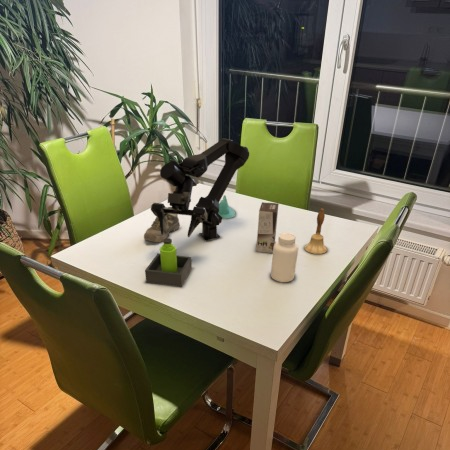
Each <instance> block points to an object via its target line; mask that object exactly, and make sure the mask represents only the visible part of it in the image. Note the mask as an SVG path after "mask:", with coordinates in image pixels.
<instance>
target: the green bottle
mask: <svg viewBox="0 0 450 450" xmlns="http://www.w3.org/2000/svg"><path fill="white" fill-rule="evenodd" d="M172 242H173V240H172V239H171V238H170V237H169V238H168V237H167V238H166V239H164V240H163V241H162V243H163V244H162V245H161V246H160V248H159V253H160V257H161V269H162V271H165V272H173V273H177V256H178V255H177V247H176V246H175V245H174V244H173V243H172ZM176 255H177V256H176Z"/></svg>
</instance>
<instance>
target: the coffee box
mask: <svg viewBox="0 0 450 450" xmlns="http://www.w3.org/2000/svg"><path fill="white" fill-rule="evenodd" d="M278 213H279V203H276V202H263V201H262V202H261V204H260V207H259V210H258V222H257V235H256V247H255V248H256V252H259V253H260V252H261V253H269V254H273V248H274V244H275V243H276V237H277V236H276V235H277V224H278V215H279V214H278Z"/></svg>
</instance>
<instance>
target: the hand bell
mask: <svg viewBox="0 0 450 450" xmlns="http://www.w3.org/2000/svg"><path fill="white" fill-rule="evenodd" d="M325 217H326V215H325V209H324V208H322V207H321V208H320V210H319V211H318V214H317V217H316V231H315V233H313V234H312V235H311V236H310V240H309V242H308V243H307V244H306V245H305V246H304V250H305V251H306V252H308V253H309V254H314V255H321V254H324V253H326V252H327V251H328V249H327V247H326V245H325V243H324V235H323V234H322V233H321V232H322V226H323V224H324V221H325Z"/></svg>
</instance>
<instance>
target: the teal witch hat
mask: <svg viewBox="0 0 450 450" xmlns="http://www.w3.org/2000/svg"><path fill="white" fill-rule="evenodd" d="M218 214H219V215H220V216H221V217H222V220H228V219H232V218H234V217H235V216H236V212H235V210H234V209H233V208H231V207H230V206H229V202H228V199H227V196H226V195H224V194H223V196H222V199H220V201H219V212H218Z"/></svg>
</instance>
